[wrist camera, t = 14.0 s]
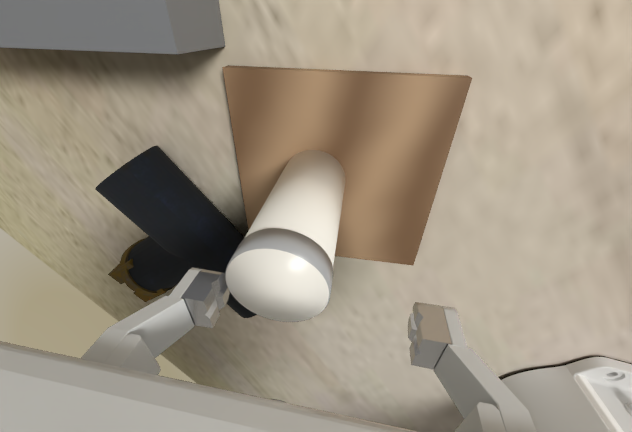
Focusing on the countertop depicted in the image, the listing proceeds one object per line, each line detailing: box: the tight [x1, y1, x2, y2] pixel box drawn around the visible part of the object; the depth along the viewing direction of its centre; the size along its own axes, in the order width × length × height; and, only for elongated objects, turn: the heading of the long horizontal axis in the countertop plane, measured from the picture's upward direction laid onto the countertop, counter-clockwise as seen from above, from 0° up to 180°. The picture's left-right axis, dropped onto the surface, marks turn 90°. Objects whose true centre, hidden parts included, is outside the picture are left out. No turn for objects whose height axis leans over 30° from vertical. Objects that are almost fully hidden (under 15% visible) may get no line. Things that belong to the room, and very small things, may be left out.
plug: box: [225, 150, 345, 322], centre depth 15 cm, size 4×4×10 cm
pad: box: [223, 66, 472, 265], centre depth 20 cm, size 14×14×1 cm
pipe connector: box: [96, 146, 257, 318], centre depth 24 cm, size 12×5×15 cm
